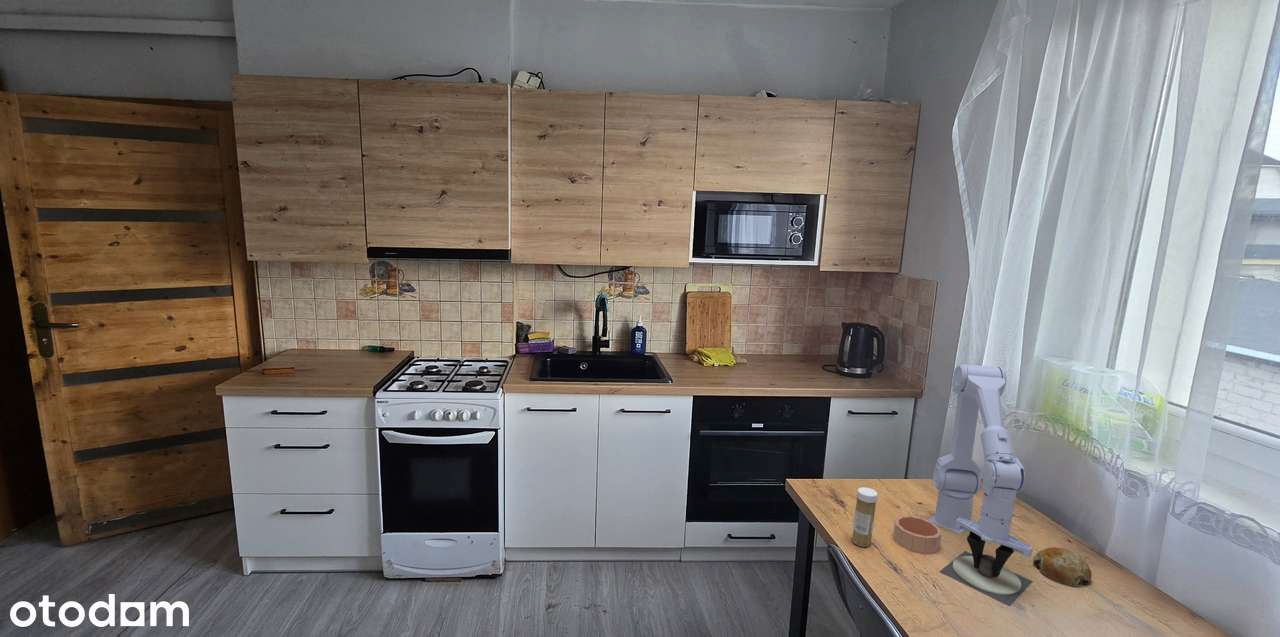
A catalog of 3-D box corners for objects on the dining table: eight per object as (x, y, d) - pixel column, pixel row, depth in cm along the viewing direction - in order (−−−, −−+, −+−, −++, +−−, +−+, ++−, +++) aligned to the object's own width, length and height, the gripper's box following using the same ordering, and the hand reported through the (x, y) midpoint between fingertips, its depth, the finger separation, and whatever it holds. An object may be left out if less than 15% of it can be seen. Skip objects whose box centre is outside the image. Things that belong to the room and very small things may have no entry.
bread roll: (1061, 604, 124) (1085, 583, 120) (1020, 562, 132) (1041, 541, 127) (1084, 592, 129) (1108, 572, 125) (1044, 552, 136) (1065, 532, 132)
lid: (966, 552, 135) (969, 535, 134) (1029, 580, 125) (1032, 562, 124) (942, 571, 127) (945, 554, 126) (1008, 603, 117) (1011, 584, 116)
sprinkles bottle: (875, 544, 137) (882, 492, 135) (863, 550, 135) (870, 497, 132) (858, 535, 141) (865, 484, 139) (847, 540, 138) (853, 489, 136)
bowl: (904, 527, 146) (907, 511, 145) (945, 546, 138) (948, 529, 137) (885, 540, 139) (887, 523, 139) (926, 560, 132) (929, 542, 131)
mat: (964, 552, 136) (965, 550, 136) (1032, 583, 125) (1032, 581, 125) (938, 573, 127) (939, 571, 127) (1009, 608, 116) (1009, 606, 116)
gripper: (953, 505, 126) (944, 560, 129) (1028, 535, 115) (1017, 595, 118) (966, 496, 131) (957, 550, 133) (1040, 524, 120) (1029, 582, 122)
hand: (986, 570), depth 126 cm, fingers closed on lid, 3 cm apart
